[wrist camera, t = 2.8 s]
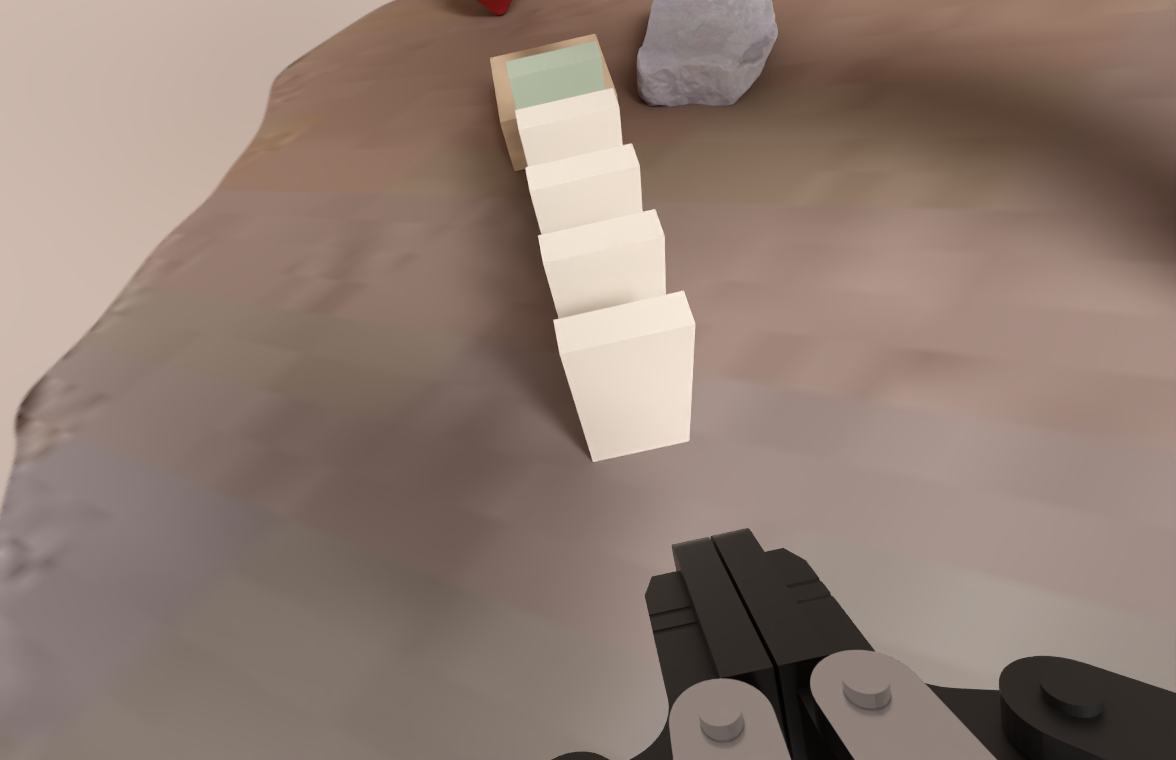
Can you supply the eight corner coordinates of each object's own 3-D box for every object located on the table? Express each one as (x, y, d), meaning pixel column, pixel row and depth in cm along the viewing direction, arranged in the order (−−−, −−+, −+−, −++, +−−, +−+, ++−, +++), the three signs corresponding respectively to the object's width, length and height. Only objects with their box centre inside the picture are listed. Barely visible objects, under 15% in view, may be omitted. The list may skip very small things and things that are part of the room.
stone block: (765, 43, 49) (650, 21, 49) (786, -17, 45) (660, -40, 45) (755, 137, 44) (627, 112, 44) (777, 80, 39) (635, 53, 40)
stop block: (601, 84, 46) (595, 33, 42) (621, 147, 41) (617, 95, 38) (503, 107, 46) (489, 57, 42) (514, 171, 42) (500, 122, 38)
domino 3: (561, 303, 35) (525, 167, 26) (642, 285, 35) (631, 143, 26) (565, 324, 34) (529, 190, 25) (648, 305, 34) (639, 165, 25)
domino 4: (573, 364, 32) (537, 235, 24) (660, 345, 32) (655, 209, 24) (578, 387, 32) (543, 263, 23) (667, 368, 31) (664, 235, 23)
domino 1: (541, 204, 39) (505, 61, 31) (612, 187, 39) (596, 40, 31) (545, 220, 39) (508, 78, 30) (617, 203, 39) (601, 56, 30)
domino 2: (550, 250, 37) (514, 110, 29) (626, 233, 37) (612, 87, 29) (554, 268, 36) (518, 129, 28) (631, 251, 36) (619, 106, 28)
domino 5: (587, 434, 30) (553, 320, 22) (681, 414, 30) (683, 290, 21) (593, 462, 29) (559, 354, 21) (689, 441, 29) (695, 324, 21)
